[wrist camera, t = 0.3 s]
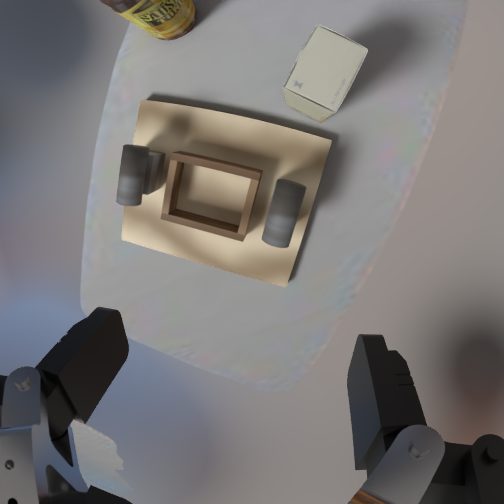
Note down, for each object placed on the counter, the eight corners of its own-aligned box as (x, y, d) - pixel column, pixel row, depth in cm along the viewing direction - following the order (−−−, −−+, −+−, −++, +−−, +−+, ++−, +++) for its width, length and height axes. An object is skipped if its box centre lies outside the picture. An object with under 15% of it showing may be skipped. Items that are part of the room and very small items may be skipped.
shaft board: (145, 100, 32) (114, 96, 25) (330, 140, 31) (340, 142, 25) (125, 236, 39) (97, 257, 32) (286, 282, 38) (283, 314, 32)
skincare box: (321, 123, 31) (336, 118, 20) (284, 105, 30) (279, 90, 19) (345, 77, 28) (372, 49, 17) (309, 58, 28) (316, 21, 17)
